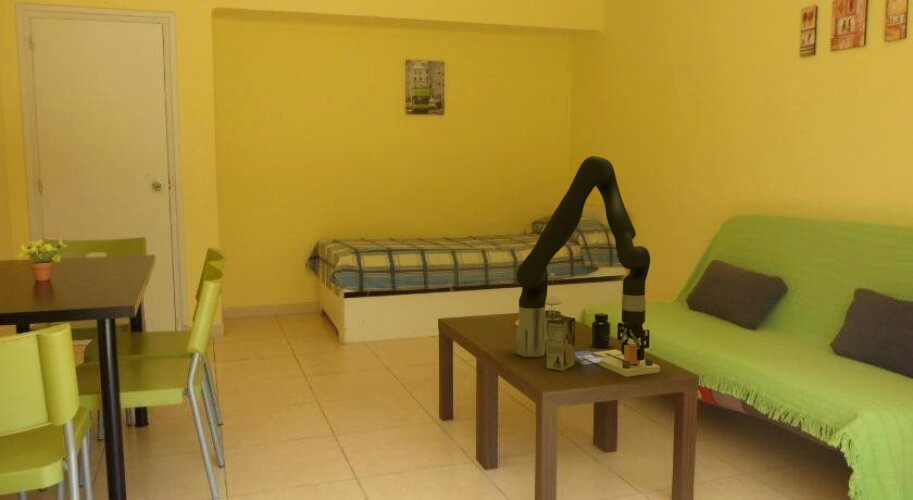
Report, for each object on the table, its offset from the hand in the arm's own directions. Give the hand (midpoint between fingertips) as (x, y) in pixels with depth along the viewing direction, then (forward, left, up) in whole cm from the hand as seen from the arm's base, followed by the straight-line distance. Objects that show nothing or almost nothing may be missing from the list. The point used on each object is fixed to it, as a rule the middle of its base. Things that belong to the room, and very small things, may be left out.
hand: (632, 357), depth 252 cm
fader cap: (0, 0, -2) cm, 2 cm away
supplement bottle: (+9, +31, -4) cm, 33 cm away
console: (0, +6, -4) cm, 7 cm away
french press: (0, +51, -4) cm, 51 cm away
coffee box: (-19, +13, -4) cm, 24 cm away
